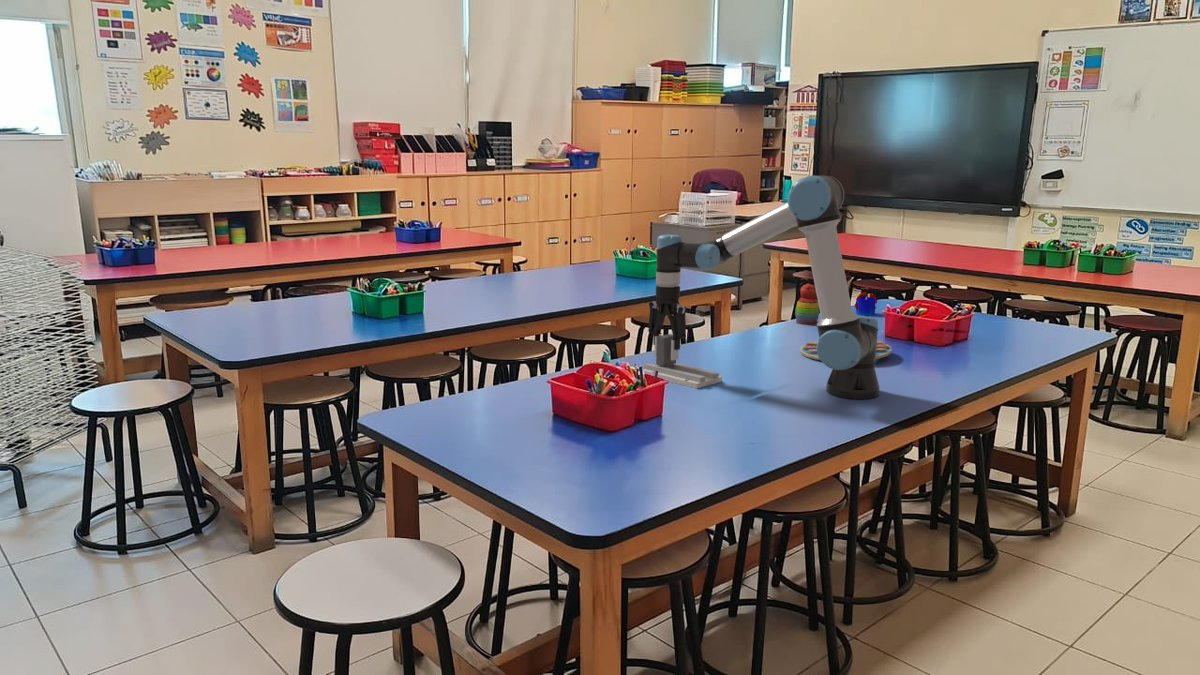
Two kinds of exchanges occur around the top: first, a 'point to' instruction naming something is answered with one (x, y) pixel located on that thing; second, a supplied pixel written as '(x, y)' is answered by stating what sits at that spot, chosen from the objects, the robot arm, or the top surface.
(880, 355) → the shape sorting clock
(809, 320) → the stacking bear
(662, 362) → the fader
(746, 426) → the top surface
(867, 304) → the fantasy tower
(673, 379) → the panel
